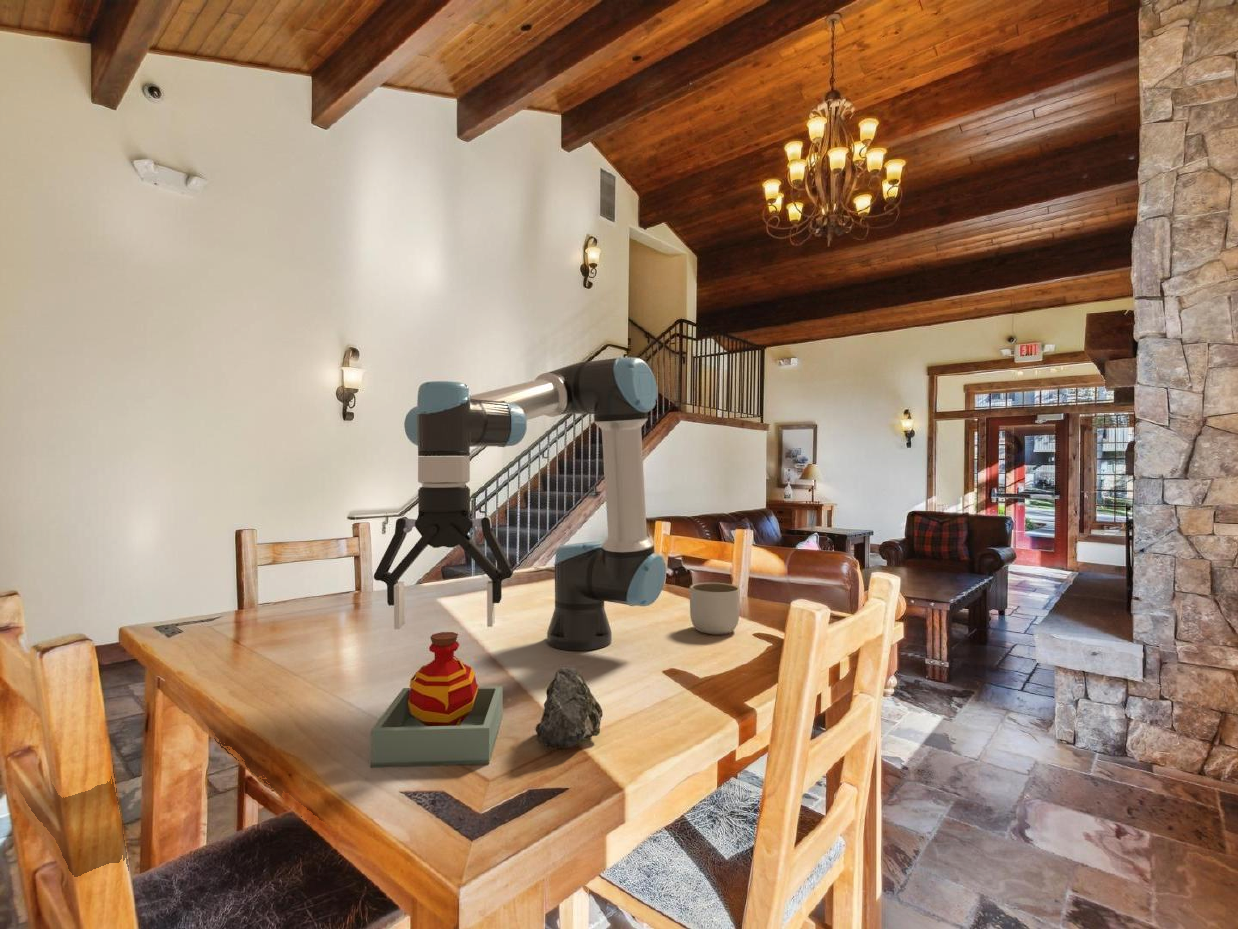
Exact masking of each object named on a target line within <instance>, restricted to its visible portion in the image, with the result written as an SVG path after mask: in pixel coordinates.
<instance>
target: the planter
mask: <svg viewBox="0 0 1238 929" xmlns="http://www.w3.org/2000/svg"><path fill="white" fill-rule="evenodd" d="M740 599H741V588H740V587H739V586H737V585H735V584H731V583H723V582H698V583H693V584H691V585H689V614H690V621H691V623H692V625H693V627H694V628H695V629H696V630H697V631H698V632H700V633H703V634H706V635H715V636H717V635H719V636H720V635H726V634H730V633H732V632H733V631H734V630H735V629H736V628H737V625H738V622H739V620H740V610H741V608H740V604H741V602H740V601H741V600H740Z"/></svg>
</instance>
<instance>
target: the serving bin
mask: <svg viewBox="0 0 1238 929" xmlns="http://www.w3.org/2000/svg"><path fill="white" fill-rule="evenodd" d="M503 690H504V687H503V685H494V686H489V685H488V686H479V687H478V692H477V695H476V698H475V701H474V704H473V707H472V710H471V711H470V712H469V713H468V715H467V716H466V718H465V719H464V720H463V721H462V722H461V725H460V726H426V725H424V724H423V723H422V722H421V721H419V720H418V718H417V717H415V716H413V715H412V714H411V712H410V708H409V704H408V701H409V696H410V691H411V687H403V688H402V689H401V690H400V691H399V693H398V694H397V695H396V697H395V698H394V699H393V701H392V702H391V703H390V705H388V708H386V710H385V712H384V713H383V714H382V715H381V717H380V718H379V719H378V720H377V722H376V723H375V724H374V726H373V727H372V728H371V730H370V766H369V767H370V768H390V767H391V768H394V767H395V768H396V767H431V766H462V765H463V766H465V765H469V766H470V765H489V764H490V761H491V758H492V755H493V751H494V747H495V745H496V740H497V736H498V733H499V731H500V730H499V729H500V727H501V723H502V719H503V711H504V710H503V702H504V700H503V696H504V695H503V692H504V691H503Z"/></svg>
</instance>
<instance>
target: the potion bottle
mask: <svg viewBox="0 0 1238 929" xmlns="http://www.w3.org/2000/svg"><path fill="white" fill-rule="evenodd" d="M458 636H459V633H456V632H453V631H440V632H437V633H432V634H431V635H430V638H429V639H430V640H431V644H430V645H429V647H428V649H429V651H430V652H431V653H434V659H433V660H432V661H431V662H428V664H425V665H422V666H421V667H420V668H419V669H418V670H417V671H416V672H415V673H414V674H413V676H412V677H411V678H410V681H409V688H411V691H410V696H409V701H408V704H409V708H410V712H411V714H412V715H413V716H415V717H417V718H418V720H419V721H421V722H422V723H423V724H424V725H426V726H460V725H461V722H462V721H463V720H464V719H465V718H466V716H467V715H468V713H469V712H470V711H471V710H472V707H473V704H474V701H475V698H476V695H477V692H478V687H480V685H479V684H478V683H477V679H476V673H475V672H474V669H473V668H472V667H471V666H469V665H467V664H466V663H464V662H463V661H462V659H460V658H459V657H457V656H455V652H457V650H458V649H459V647H460V643H459V642H458V641H457V639H458Z"/></svg>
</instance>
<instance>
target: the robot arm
mask: <svg viewBox="0 0 1238 929" xmlns="http://www.w3.org/2000/svg"><path fill="white" fill-rule="evenodd" d="M469 388H470V387H469V386H468V384H466V383H463V382H459V381H447V380H442V381H441V380H440V381H439V380H437V381H436V380H434V381H426V382H424V383H422V384H420V385H419V387H418V392H417V400H416V401H417V402H416V406H414V407H412V408H411V409H409V411H408V412H407V414H406V416H405V419H404V422H403V424H404V425H403V426H404V431H405V435H406V437H407V439H408V440H409V441H410V443H412V444H413V445H415V446H417V451H418V452H417V482H418V483H419V484H421V486H420V487H419V489H417V497H418V498H417V508H418V511H417V512H418V515H417V517H416V519H415V518H408V517H407V516H402V517H399V518H397V519H396V521H395V526H394V527H395V529H394V533H393V536H392V538H391V540H390V542H389V544H388V546H387V547H386V549H385V552H384V554H383V556H382V558H381V560H380V562H379V563H378V566H377V568H376V570H375V572H374V574H373V580H375V581H377V582H378V581H380V582H383V583H385V584H386V592H387V593H386V596H387V597H386V601H387V604H388V606H389V607H391V606H393V623H394V624H393V627H394V628H393V629H394V630H400V629H401V628H402V627H403V626H404V625H405V581H399V580H400V578H402V576H403V575H404V574H405V572H406V571H407V570H408V569H409V568H410V566H412V565H413V563H414V562H415V561H416V559H417V558H418V557H419V556H420V555H421V553H423V551H424V550H425V549H426V548H427V547H428V546H429V547H432V548H433V549H439V548H442V547H446V548H450V549H451V548H452V549H453V548H455V547H458V546H460V547H461V548H462V550H464V551H465V552H466V553H467V554H468V555H469V557H471V558H472V560H473V561H474V562H475V563H476V564H477V565H478V566H479V568H480V569H481V570H482V571H483V572H484V573H485V574H486V575H487V577H488V579H489V580H488V581H487V583H486V612H487V613H486V618H487V620H486V627H487V628H492V627H493V626H494V624H495V616H496V614H495V613H496V612H495V611H496V610H495V608H496V607H495V604H500V603H501V601H502V596H503V594H502V591H503V590H502V582H503V581H504V580H507V579H510V578H511V577H512V576H513V574H514V568H513V567H512V564H511V563H510V561H509V559H508V556H507V554H506V553H505V551H504V549H503V547H502V545H501V543H500V541H499V540H498V538H497V535H496V534H495V532H494V529H493V520H492V517H491V516H489V515H486V516H484V517H479V518H473V517H472V515H471V489H470V486H467V484H468V483H469V482H470V481H471V472H470V471H471V470H470V469H471V465H470V462H471V461H470V458H471V457H470V456H471V453H470V451H471V448H473V447H475V448H476V447H497V448H505V447H513V446H517V445H518V444H519V443H520V442H521V441H522V440H523V439H524V438H525V436H526V433H527V428H528V426H527V425H528V423H527V421H530V420H532V419H536V418H538V417H542V416H546V417H549V418H550V417H551V418H552V417H553V418H555V417H558V416H561V415H593V421H594V424H595V425H596V426H597V427H598V428H600V430H601V438H602V439H601V440H602V441H601V442H602V454H603V457H602V459H603V472H604V473H603V474H604V487H605V488H604V490H605V507H606V508H605V509H606V521H607V525H606V526H607V539H606V540H605V541H586V542H577V543H568V544H564V545H560V546H559V547H558V548H557V549H556V550H555V557H554V558H555V559H554V564H553V565H554V610H553V613H552V617H551V620H550V623H549V624H548V629H547V632H546V643H547V645H549V646H551V647H552V648H556V649H559V650H566V651H593V650H597V649H602V648H604V647H607V646H609V645H610V644H611V643H612V640H613V639H612V635H613V634H612V629H611V628H612V627H611V626H610V622H609V618H608V617H607V612H606V610H605V602H608V603H615V604H620V605H621V604H622V605H626V606H629V607H647V606H650V605H652V604H653V603H654V602H656V601H657V599H658V598H659V597H660V595H661V593H662V590H663V588H664V585H665V581H666V577H667V564H666V561H665V559H664V557H663V556H662V555H660V554H659V553H658V552H657V553H656V552H655V542H654V541H653V540H652V539H651V538H650V537H649V536H648V534H647V532H648V531H647V514H646V510H647V509H646V497H645V496H646V493H645V492H646V491H645V475H644V458H643V456H644V455H643V454H644V453H643V439H642V427H643V426H644V424H646V422H647V421H648V419H649V418H648V417H649V416H648V413H649V412H650V411H652V410H653V409H654V408H655V406H656V404H657V403H656V402H657V399H658V386H657V380H656V379H655V375H654V373H653V371H652V369H651V368H650V367H649V364H647V363H646V362H645V361H644V360H643V359H641V358H639V357H629V356H628V357H625V356H622V357H615V358H609V359H608V358H607V359H600V360H591V361H588V360H587V361H581V362H576V363H573V364H570V365H567V366H564V367H561V368H557V369H555V370H551V371H547V372H544V373H541V374H539V375H538V376H537V377H535V379H534V380H531V381H528V382H527V381H526V382H522V383H519V384H514V385H511V386H507V387H502V388H498V389H493V390H489V391H485V392H481V393H477V394H476V393H475V394H472V395H471V394H470V389H469ZM470 447H471V448H470ZM414 527H415V529H416V530H417V532H418V533H419V535H420V536H421V537H420V538H419V539H418V541H417V542H416V543H415V544H414V546H413V547H412V548H411V549H410V550H409V552H407V554H406V555H405V556H404V557H403V559H402V560H401V561H400V562H399V563H398V565H397V566H396V567H395V568H394V569H393V570H392V571H391V572H389V571H390V569H391V567H392V564H393V563H394V561H395V559H396V557H397V555H398V553H399V551H400V549H401V547H402V544H403V542H404V541H405V539H406V536H407V534H408V533H410V532H411V531H412V530H413V528H414ZM473 527H475V528H476V529H477V531H478V532H480V533H482V535H483V537H484V540H485V542H486V544H487V546H488V547H489V549H490V551H491V553H492V555H493V557H494V558H495V562H496V563H497V565H498V567H499V569H500V570H499V569H498V567H496V565H495V564H493V562H492V561H491V560H490V559H489V558H488V556H486V554H485V553H484V552H483V551H482V550H481V549H480V548H479V547H478V545H477V544H476V543H475V541H474V540H473V539H472V538H471V536H470V535H469V533H470V531H472V528H473Z"/></svg>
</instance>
